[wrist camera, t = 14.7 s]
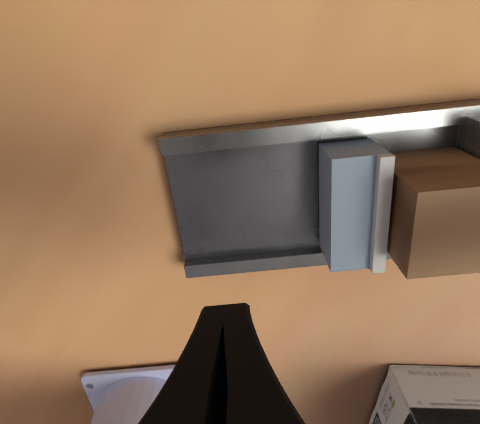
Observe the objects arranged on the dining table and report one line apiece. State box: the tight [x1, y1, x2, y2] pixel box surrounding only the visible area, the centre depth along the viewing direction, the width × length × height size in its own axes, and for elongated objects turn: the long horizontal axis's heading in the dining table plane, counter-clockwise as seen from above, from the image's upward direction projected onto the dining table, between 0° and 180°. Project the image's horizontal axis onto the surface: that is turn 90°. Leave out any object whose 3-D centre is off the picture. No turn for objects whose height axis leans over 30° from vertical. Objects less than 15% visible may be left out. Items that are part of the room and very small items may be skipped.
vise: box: [158, 99, 480, 278], centre depth 18 cm, size 8×17×3 cm, turn 96°
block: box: [387, 146, 480, 279], centre depth 17 cm, size 4×4×5 cm
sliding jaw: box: [319, 138, 395, 273], centre depth 17 cm, size 6×2×3 cm, turn 6°
